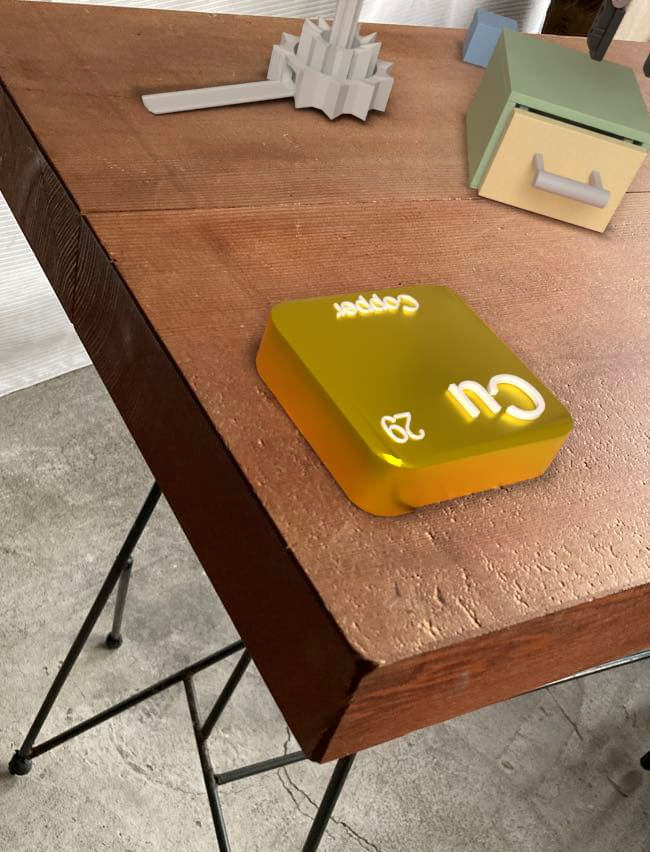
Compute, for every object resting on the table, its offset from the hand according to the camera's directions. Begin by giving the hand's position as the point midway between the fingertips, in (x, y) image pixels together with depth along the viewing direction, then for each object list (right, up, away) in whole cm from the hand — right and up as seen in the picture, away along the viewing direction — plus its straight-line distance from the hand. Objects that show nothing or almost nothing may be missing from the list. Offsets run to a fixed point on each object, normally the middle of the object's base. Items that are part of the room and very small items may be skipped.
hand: (622, 64), depth 74 cm
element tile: (-19, -28, -11) cm, 36 cm away
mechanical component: (-25, +3, +14) cm, 29 cm away
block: (-3, +16, +34) cm, 37 cm away
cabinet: (-2, -2, +17) cm, 18 cm away
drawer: (-2, -5, +13) cm, 14 cm away
